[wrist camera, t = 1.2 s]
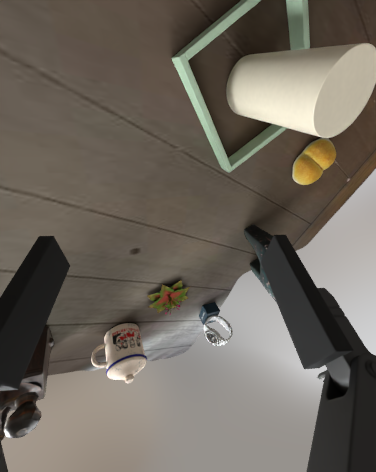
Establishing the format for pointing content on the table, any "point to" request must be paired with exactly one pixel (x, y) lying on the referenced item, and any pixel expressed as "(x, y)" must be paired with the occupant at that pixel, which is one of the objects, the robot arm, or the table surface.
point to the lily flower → (168, 297)
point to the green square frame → (298, 40)
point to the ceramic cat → (259, 252)
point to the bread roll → (313, 161)
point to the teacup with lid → (122, 352)
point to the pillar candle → (305, 87)
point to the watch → (210, 315)
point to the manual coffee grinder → (27, 392)
